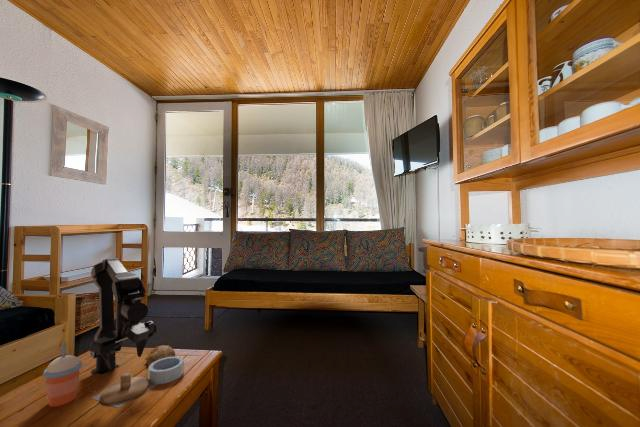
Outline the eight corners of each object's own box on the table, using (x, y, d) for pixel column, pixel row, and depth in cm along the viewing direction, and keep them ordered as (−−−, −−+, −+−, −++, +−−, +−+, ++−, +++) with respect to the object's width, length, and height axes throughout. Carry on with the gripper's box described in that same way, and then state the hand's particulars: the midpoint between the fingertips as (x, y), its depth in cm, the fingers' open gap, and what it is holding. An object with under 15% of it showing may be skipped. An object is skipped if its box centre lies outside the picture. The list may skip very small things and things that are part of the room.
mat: (90, 399, 90) (90, 397, 90) (131, 378, 102) (131, 377, 102) (118, 409, 85) (118, 407, 85) (157, 385, 97) (157, 384, 97)
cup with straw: (62, 392, 93) (63, 337, 94) (88, 392, 93) (90, 337, 94) (33, 410, 84) (34, 349, 85) (62, 411, 84) (64, 349, 85)
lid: (90, 398, 90) (91, 381, 90) (131, 377, 102) (132, 362, 102) (118, 407, 85) (118, 390, 85) (157, 384, 97) (157, 369, 97)
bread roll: (157, 378, 108) (165, 360, 108) (137, 364, 110) (144, 346, 110) (175, 365, 118) (183, 348, 117) (156, 353, 120) (163, 336, 119)
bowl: (141, 381, 100) (141, 368, 100) (168, 366, 110) (168, 354, 110) (163, 387, 96) (164, 374, 96) (190, 371, 106) (190, 359, 106)
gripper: (112, 328, 82) (111, 382, 82) (168, 309, 100) (168, 354, 99) (89, 323, 87) (88, 375, 86) (146, 306, 104) (146, 349, 103)
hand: (125, 362), depth 94 cm, fingers open, 9 cm apart
